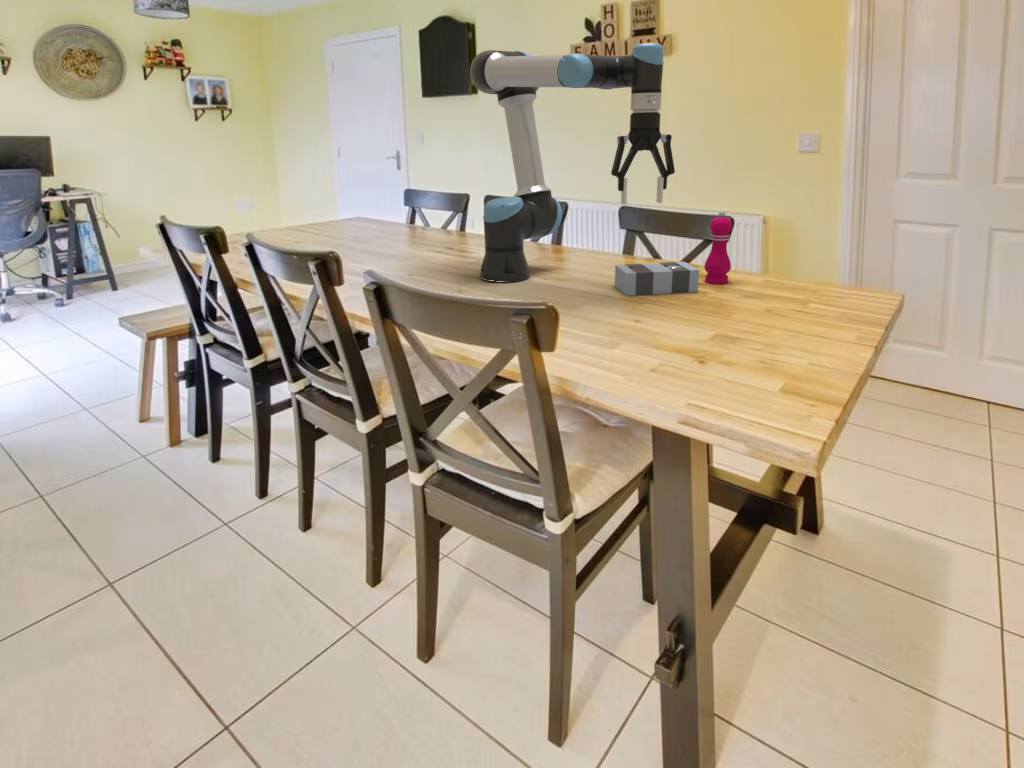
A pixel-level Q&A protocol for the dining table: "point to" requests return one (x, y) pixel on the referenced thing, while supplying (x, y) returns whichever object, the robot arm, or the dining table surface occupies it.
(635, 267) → the walnut peg
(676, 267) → the grey metal peg
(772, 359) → the dining table surface
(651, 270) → the socket block
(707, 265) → the pepper mill
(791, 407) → the dining table surface
